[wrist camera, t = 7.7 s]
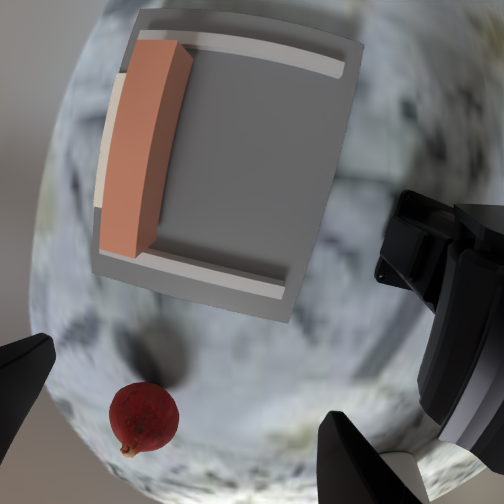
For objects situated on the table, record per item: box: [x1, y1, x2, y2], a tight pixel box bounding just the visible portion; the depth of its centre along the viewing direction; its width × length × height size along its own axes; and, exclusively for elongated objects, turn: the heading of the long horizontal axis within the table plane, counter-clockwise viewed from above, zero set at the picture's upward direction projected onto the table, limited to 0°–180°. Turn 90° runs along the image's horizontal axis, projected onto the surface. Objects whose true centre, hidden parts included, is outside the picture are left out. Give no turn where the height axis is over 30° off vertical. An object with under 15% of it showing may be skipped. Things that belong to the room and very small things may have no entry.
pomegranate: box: [109, 382, 179, 458], centre depth 20 cm, size 6×6×8 cm
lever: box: [99, 40, 193, 259], centre depth 13 cm, size 2×10×3 cm, turn 167°
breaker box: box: [92, 8, 364, 323], centre depth 15 cm, size 13×17×3 cm
